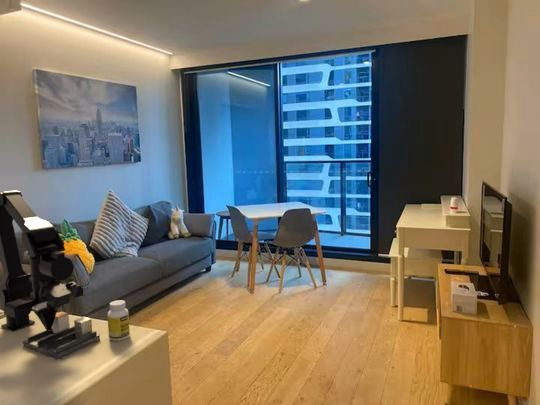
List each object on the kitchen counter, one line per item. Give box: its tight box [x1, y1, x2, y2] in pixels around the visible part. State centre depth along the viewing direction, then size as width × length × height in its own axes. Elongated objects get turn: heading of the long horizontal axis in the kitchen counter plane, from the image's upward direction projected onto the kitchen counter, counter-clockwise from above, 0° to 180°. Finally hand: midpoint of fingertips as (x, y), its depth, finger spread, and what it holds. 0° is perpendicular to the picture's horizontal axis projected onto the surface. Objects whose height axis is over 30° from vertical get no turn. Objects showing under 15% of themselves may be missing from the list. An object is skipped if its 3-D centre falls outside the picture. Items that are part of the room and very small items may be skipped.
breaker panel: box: [22, 316, 101, 361], centre depth 109 cm, size 15×12×6 cm
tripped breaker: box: [52, 311, 71, 333], centre depth 112 cm, size 3×3×5 cm
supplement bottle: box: [107, 299, 131, 342], centre depth 112 cm, size 5×5×10 cm
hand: (48, 330), depth 110 cm, fingers closed
